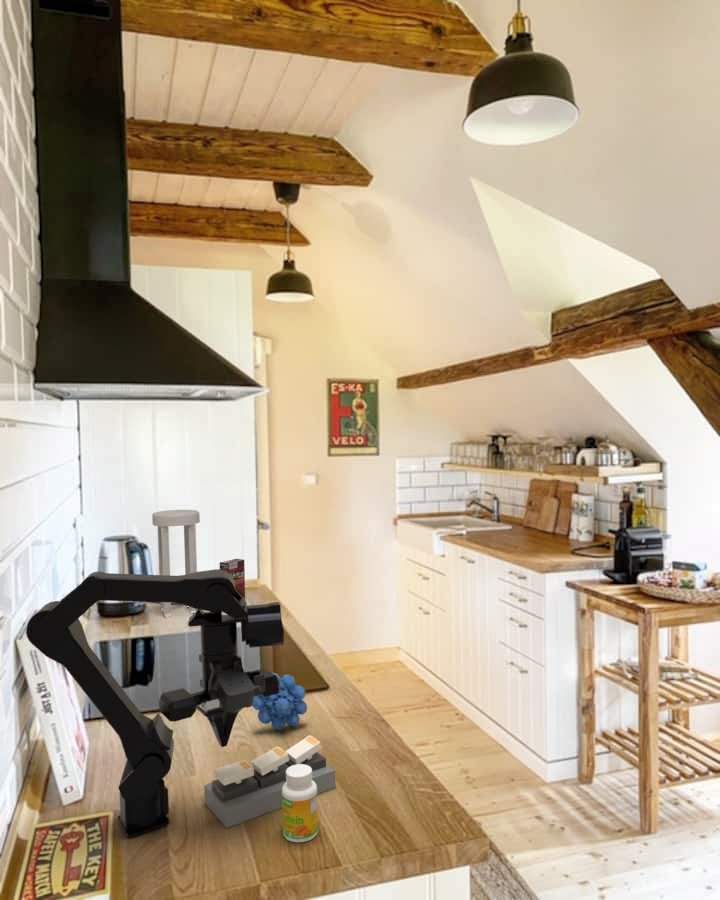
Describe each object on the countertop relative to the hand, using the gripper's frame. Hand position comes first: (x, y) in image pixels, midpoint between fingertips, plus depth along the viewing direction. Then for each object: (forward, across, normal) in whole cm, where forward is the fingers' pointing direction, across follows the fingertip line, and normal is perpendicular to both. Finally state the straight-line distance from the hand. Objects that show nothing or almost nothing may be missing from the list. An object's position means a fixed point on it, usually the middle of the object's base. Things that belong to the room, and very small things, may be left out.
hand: (223, 745), depth 110 cm
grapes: (+11, +21, +21) cm, 32 cm away
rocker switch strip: (+11, +8, 0) cm, 14 cm away
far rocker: (+6, +15, 0) cm, 16 cm away
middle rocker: (+6, +9, 0) cm, 10 cm away
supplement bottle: (+11, +7, -12) cm, 18 cm away
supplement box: (+11, +57, +126) cm, 139 cm away
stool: (+11, +38, +129) cm, 135 cm away
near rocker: (+6, +2, 0) cm, 6 cm away
